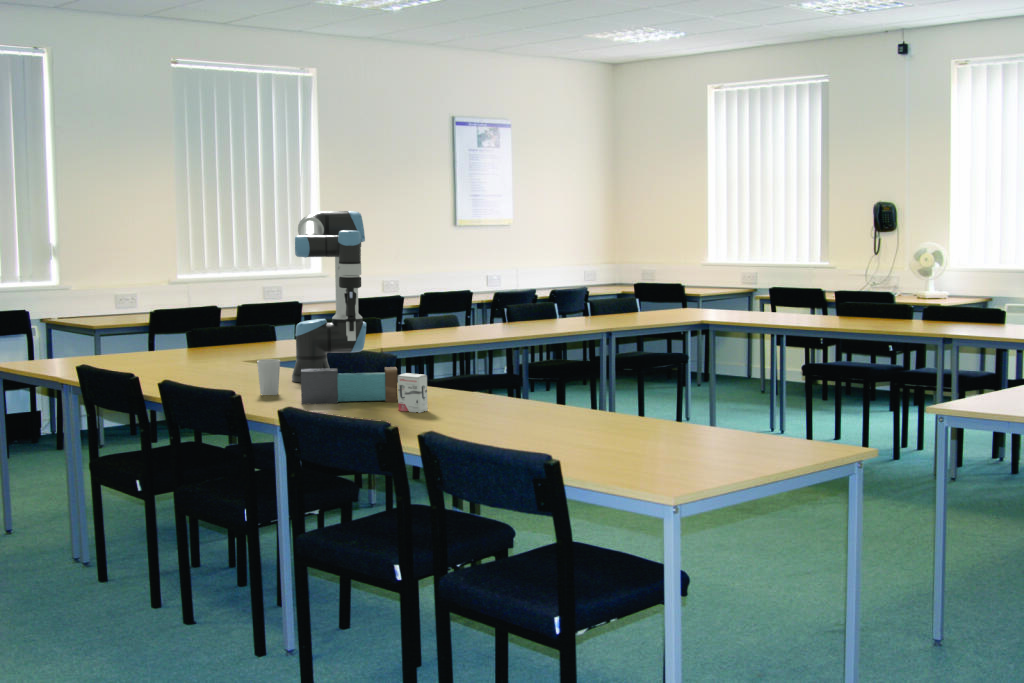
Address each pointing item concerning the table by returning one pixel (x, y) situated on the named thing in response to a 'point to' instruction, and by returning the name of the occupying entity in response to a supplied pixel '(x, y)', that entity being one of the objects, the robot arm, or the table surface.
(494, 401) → the table surface
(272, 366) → the cup
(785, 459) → the table surface
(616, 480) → the table surface
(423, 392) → the ink box
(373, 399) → the teal rectangular box
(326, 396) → the dark gray box
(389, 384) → the socket
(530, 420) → the table surface
